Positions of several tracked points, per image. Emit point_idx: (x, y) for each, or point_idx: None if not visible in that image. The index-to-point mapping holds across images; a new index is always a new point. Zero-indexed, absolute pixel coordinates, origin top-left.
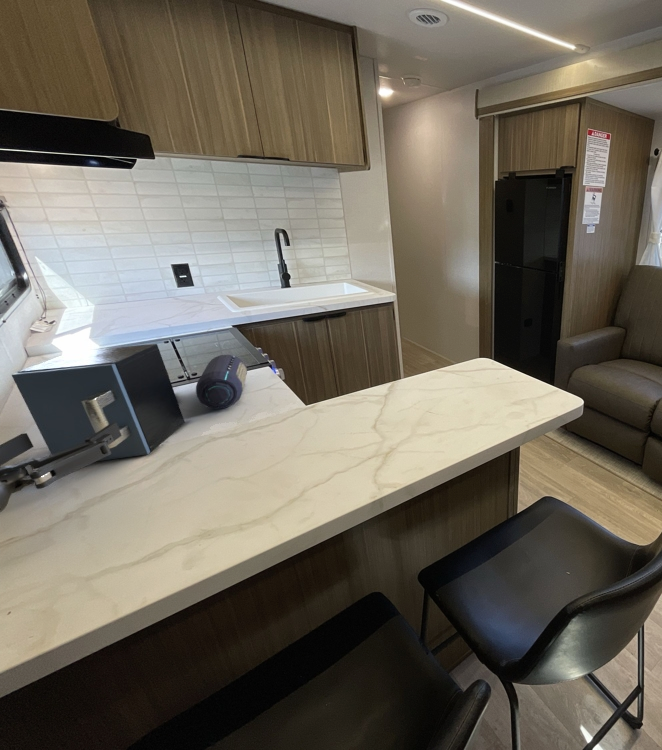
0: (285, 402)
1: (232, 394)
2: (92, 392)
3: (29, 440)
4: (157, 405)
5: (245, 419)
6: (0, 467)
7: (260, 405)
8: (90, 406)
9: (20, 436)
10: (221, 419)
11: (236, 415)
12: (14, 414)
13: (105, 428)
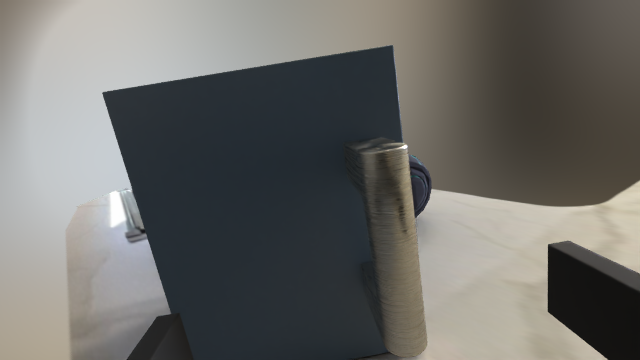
0: (511, 205)
1: (426, 193)
2: (321, 149)
3: (187, 349)
4: None
5: (502, 238)
6: None
7: (468, 213)
8: (400, 175)
9: (163, 339)
10: (441, 241)
11: (459, 232)
12: (73, 250)
13: (633, 276)
